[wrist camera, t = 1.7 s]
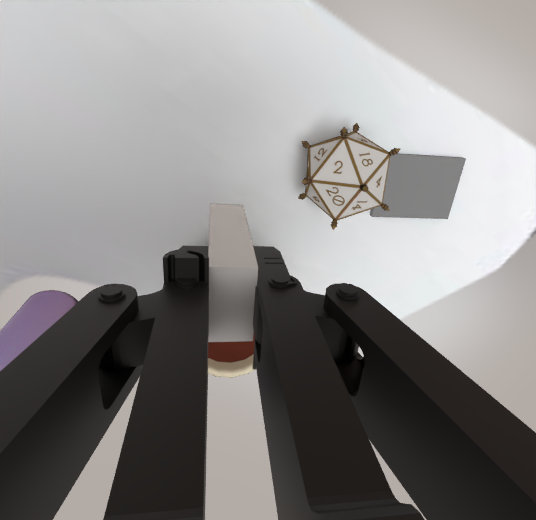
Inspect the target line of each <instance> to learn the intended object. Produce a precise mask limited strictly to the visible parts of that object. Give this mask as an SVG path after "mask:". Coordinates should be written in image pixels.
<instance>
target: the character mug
mask: <svg viewBox="0 0 536 520" xmlns="http://www.w3.org/2000/svg"><path fill="white" fill-rule="evenodd" d="M254 342H255V335H254V333H253V341H238V342H208V373H209V374H211V375H213V376H218V377H230V378H232V377H237V376H241V375H245V374H249V373H250V372H252V371H253V370H252V369H253V356H254ZM254 370H255V369H254Z"/></svg>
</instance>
